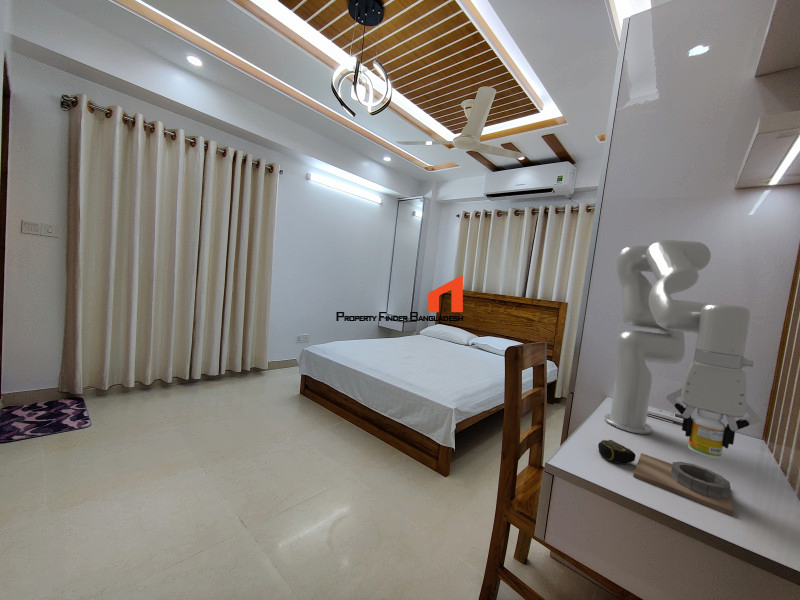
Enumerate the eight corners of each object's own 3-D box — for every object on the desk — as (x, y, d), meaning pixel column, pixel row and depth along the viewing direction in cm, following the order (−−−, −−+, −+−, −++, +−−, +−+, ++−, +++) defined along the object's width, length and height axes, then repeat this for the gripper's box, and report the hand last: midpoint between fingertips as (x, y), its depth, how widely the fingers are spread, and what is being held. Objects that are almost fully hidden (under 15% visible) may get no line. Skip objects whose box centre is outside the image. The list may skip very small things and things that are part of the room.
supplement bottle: (690, 444, 74) (696, 403, 74) (723, 455, 70) (729, 412, 69) (685, 449, 71) (691, 407, 70) (718, 461, 67) (725, 416, 66)
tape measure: (636, 466, 79) (638, 451, 79) (615, 468, 77) (618, 453, 77) (610, 451, 85) (612, 437, 85) (591, 453, 83) (593, 439, 83)
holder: (640, 456, 84) (642, 443, 83) (727, 487, 73) (729, 473, 73) (633, 476, 73) (635, 462, 73) (732, 516, 62) (735, 499, 62)
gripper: (774, 368, 66) (760, 451, 67) (667, 350, 78) (657, 422, 79) (781, 372, 61) (767, 463, 62) (665, 353, 73) (655, 430, 73)
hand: (705, 439), depth 70 cm, fingers closed on supplement bottle, 5 cm apart
